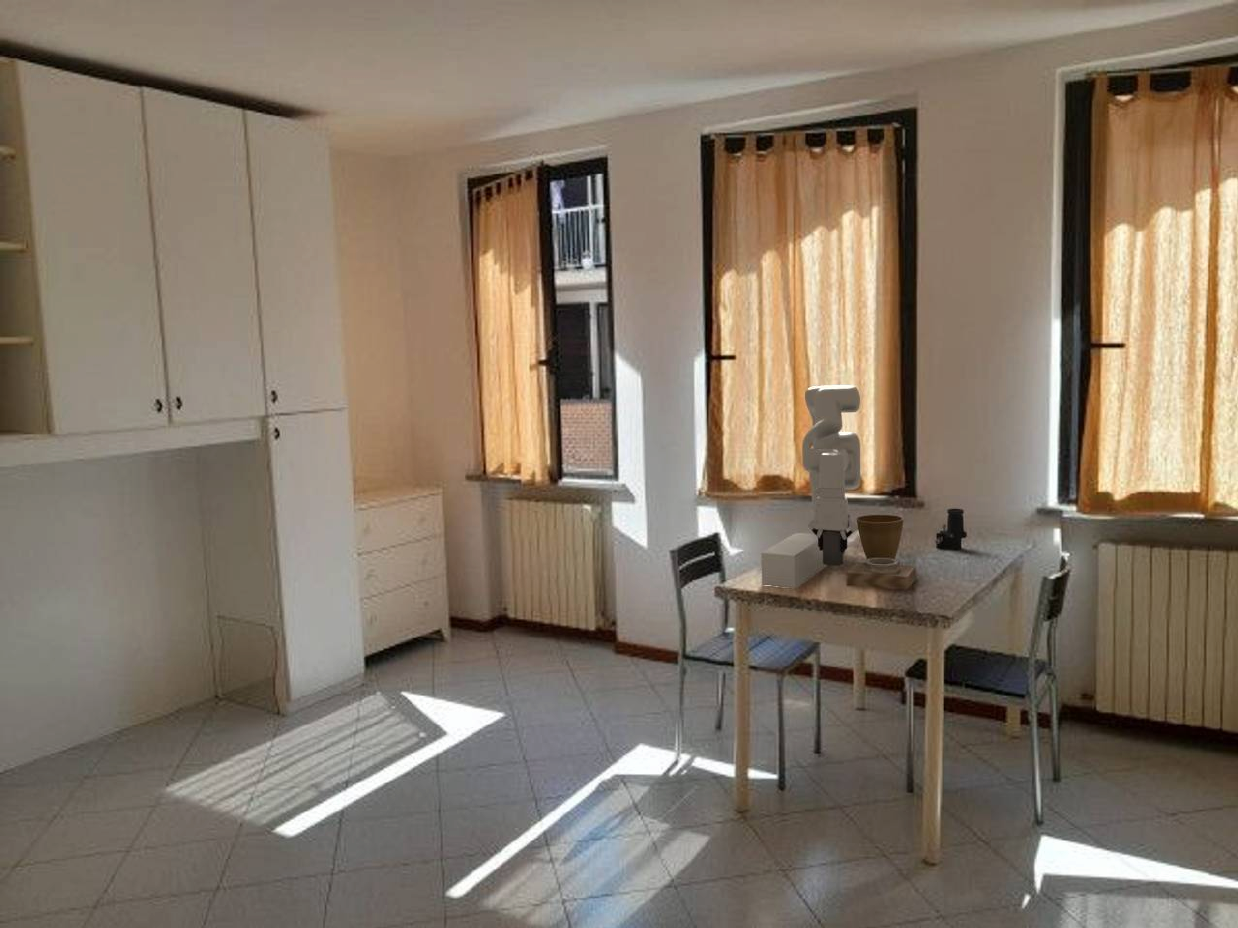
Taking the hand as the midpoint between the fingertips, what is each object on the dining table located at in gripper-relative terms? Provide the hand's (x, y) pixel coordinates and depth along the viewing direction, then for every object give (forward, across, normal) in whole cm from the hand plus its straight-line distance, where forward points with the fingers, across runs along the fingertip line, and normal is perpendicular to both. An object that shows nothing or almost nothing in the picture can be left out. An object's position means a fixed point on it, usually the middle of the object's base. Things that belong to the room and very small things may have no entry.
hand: (832, 549), depth 297 cm
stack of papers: (+12, -14, +7) cm, 19 cm away
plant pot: (+12, +8, +28) cm, 32 cm away
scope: (+12, +26, +61) cm, 68 cm away
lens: (+4, 0, 0) cm, 4 cm away
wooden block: (+11, +13, +7) cm, 19 cm away
